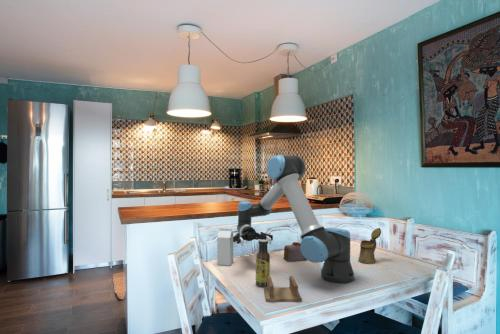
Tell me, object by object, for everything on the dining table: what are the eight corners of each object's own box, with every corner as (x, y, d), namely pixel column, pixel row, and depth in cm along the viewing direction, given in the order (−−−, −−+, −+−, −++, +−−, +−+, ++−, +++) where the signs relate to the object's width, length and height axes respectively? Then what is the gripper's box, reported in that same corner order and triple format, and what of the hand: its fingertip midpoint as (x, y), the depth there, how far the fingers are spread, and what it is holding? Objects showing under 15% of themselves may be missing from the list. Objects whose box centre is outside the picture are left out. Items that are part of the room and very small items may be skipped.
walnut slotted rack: (296, 289, 137) (296, 275, 137) (301, 301, 125) (301, 285, 125) (263, 290, 137) (263, 275, 137) (266, 301, 125) (266, 286, 125)
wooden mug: (385, 262, 176) (385, 229, 176) (365, 264, 171) (365, 231, 171) (374, 257, 184) (374, 226, 184) (354, 260, 179) (354, 228, 179)
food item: (302, 256, 188) (302, 239, 188) (310, 260, 181) (310, 242, 181) (282, 259, 182) (282, 241, 182) (290, 263, 175) (290, 245, 175)
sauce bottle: (252, 285, 142) (252, 240, 142) (261, 281, 147) (261, 237, 147) (263, 288, 138) (263, 242, 138) (272, 284, 143) (272, 240, 143)
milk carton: (230, 266, 170) (230, 230, 170) (217, 265, 171) (217, 229, 171) (233, 262, 177) (233, 227, 177) (221, 261, 178) (220, 227, 178)
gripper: (270, 238, 176) (281, 249, 155) (224, 240, 171) (230, 251, 150) (270, 225, 176) (281, 233, 155) (225, 226, 171) (230, 235, 150)
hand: (256, 242), depth 153 cm, fingers open, 13 cm apart
